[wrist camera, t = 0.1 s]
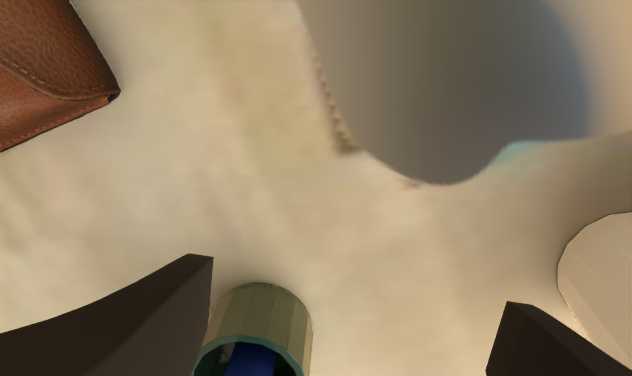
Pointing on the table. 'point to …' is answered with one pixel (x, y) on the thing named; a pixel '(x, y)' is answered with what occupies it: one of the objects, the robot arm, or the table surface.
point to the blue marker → (251, 360)
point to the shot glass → (601, 283)
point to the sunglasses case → (47, 69)
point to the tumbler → (258, 330)
